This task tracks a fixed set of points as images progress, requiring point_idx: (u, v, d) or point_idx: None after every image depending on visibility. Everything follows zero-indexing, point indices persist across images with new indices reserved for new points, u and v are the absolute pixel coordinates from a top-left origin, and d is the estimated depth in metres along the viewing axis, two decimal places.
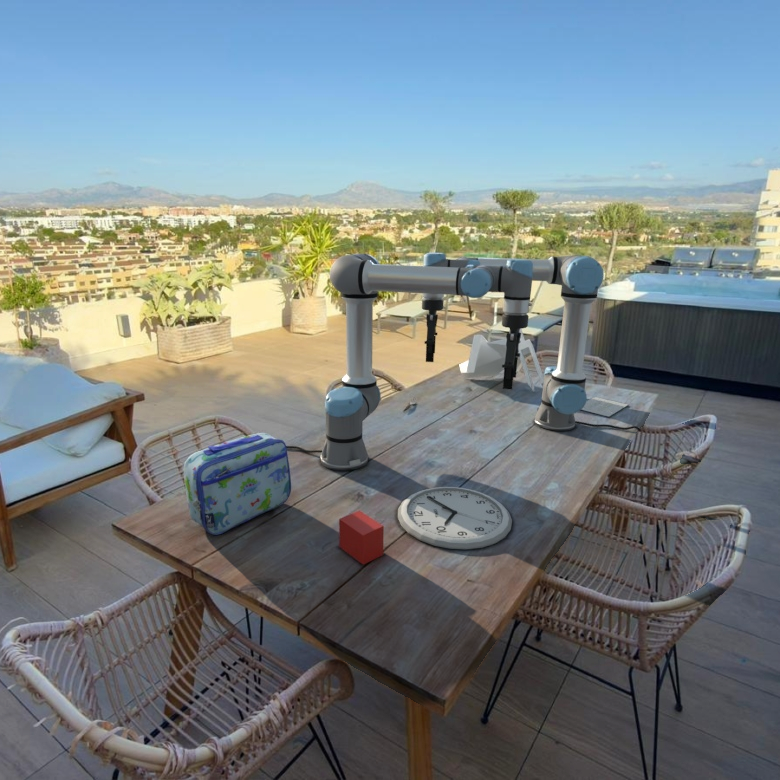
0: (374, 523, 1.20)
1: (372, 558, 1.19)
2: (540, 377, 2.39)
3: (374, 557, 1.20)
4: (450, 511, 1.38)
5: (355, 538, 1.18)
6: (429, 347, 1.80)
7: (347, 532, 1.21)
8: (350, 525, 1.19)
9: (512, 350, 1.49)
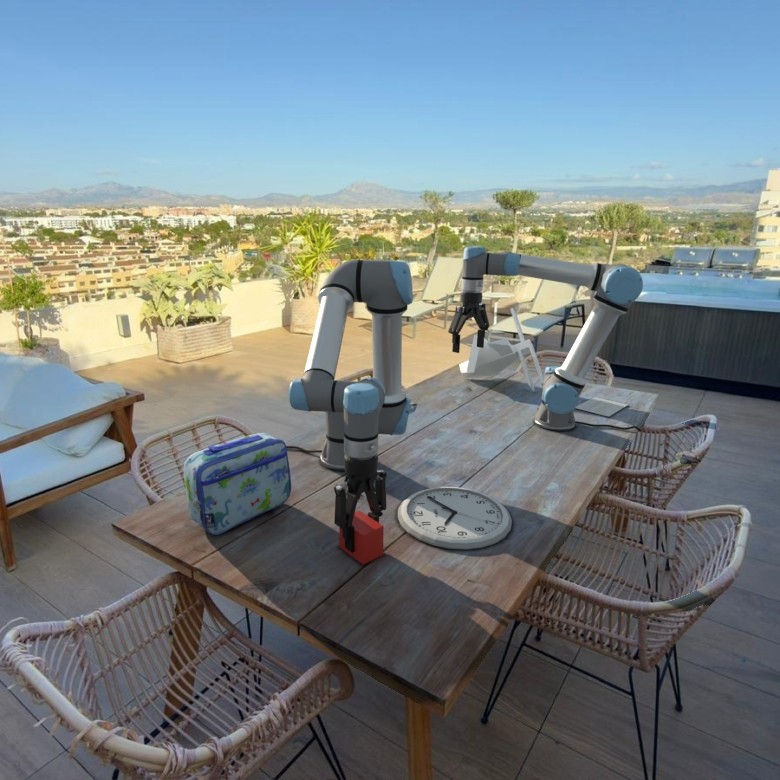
0: (374, 523, 1.20)
1: (372, 558, 1.19)
2: (540, 377, 2.39)
3: (374, 557, 1.20)
4: (450, 511, 1.38)
5: (355, 538, 1.18)
6: None
7: None
8: None
9: (339, 508, 1.14)
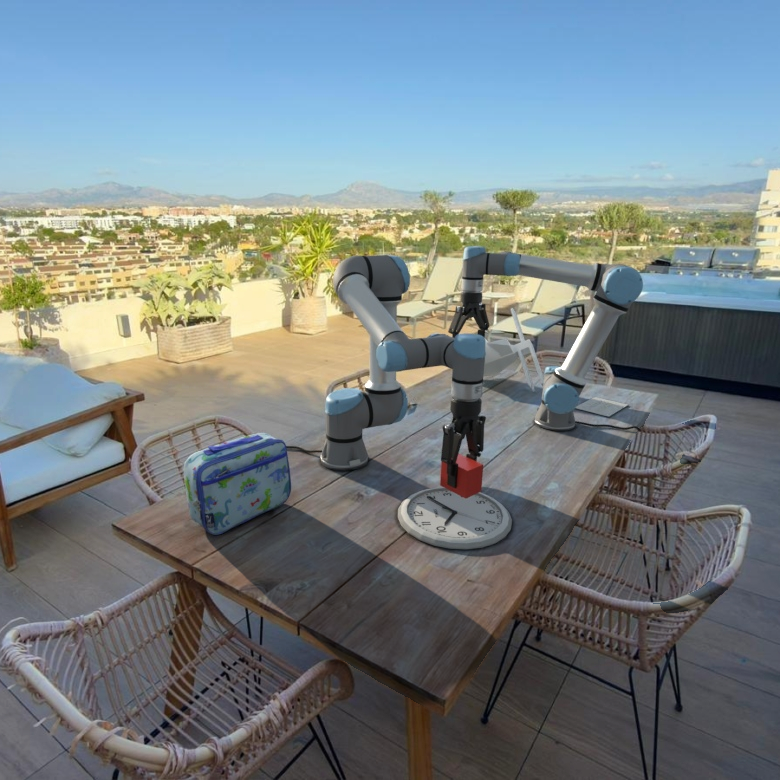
0: (474, 462, 1.33)
1: (473, 493, 1.32)
2: (540, 377, 2.39)
3: (474, 493, 1.33)
4: (450, 511, 1.38)
5: (458, 475, 1.31)
6: None
7: None
8: None
9: (447, 445, 1.27)
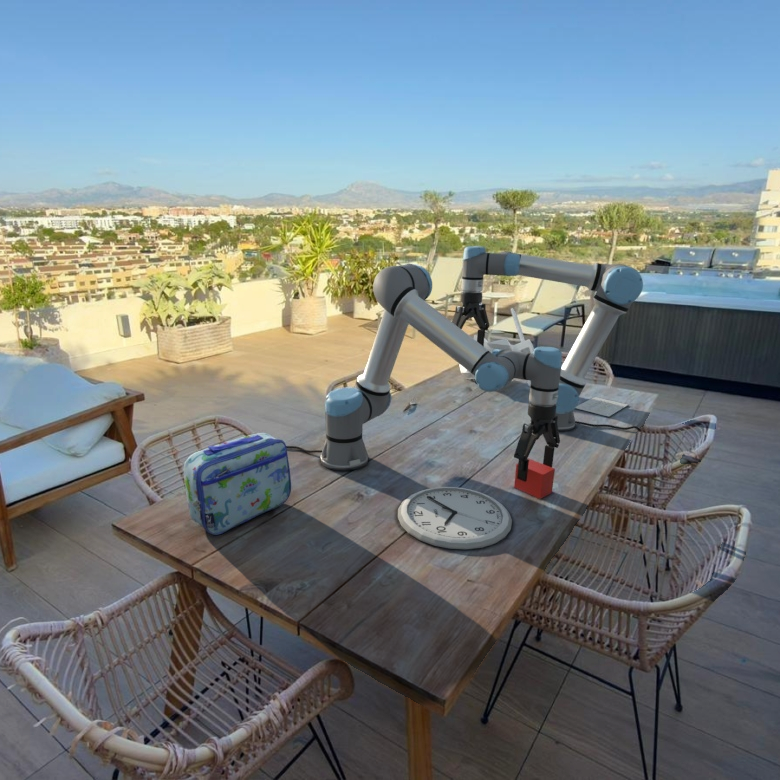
0: (546, 466, 1.50)
1: (546, 494, 1.50)
2: None
3: (547, 493, 1.50)
4: (450, 511, 1.38)
5: (533, 478, 1.48)
6: None
7: None
8: (528, 468, 1.50)
9: (524, 442, 1.42)
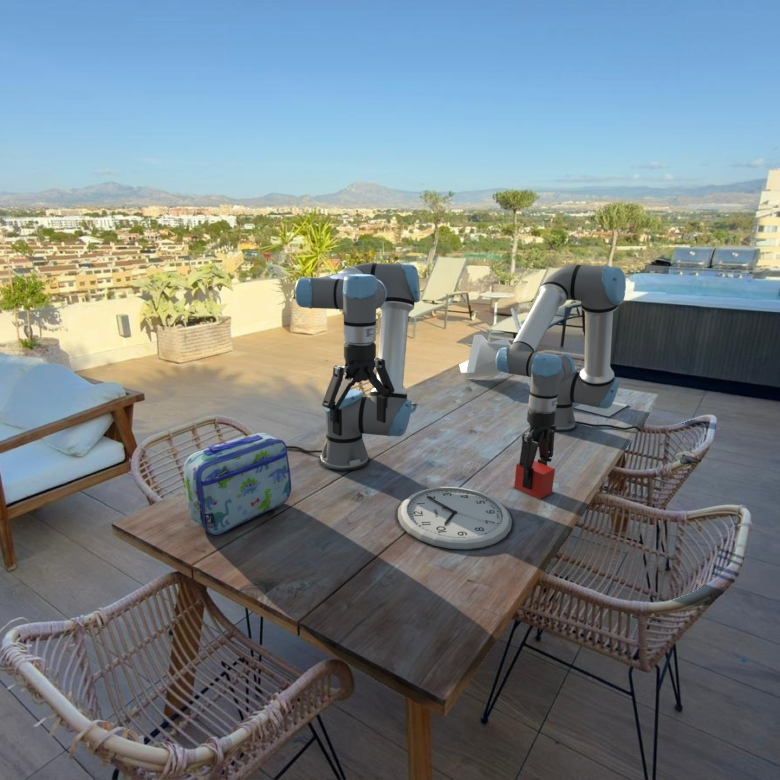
0: (546, 466, 1.50)
1: (546, 494, 1.50)
2: None
3: (547, 493, 1.50)
4: (450, 511, 1.38)
5: (533, 478, 1.48)
6: None
7: None
8: None
9: (333, 387, 1.19)
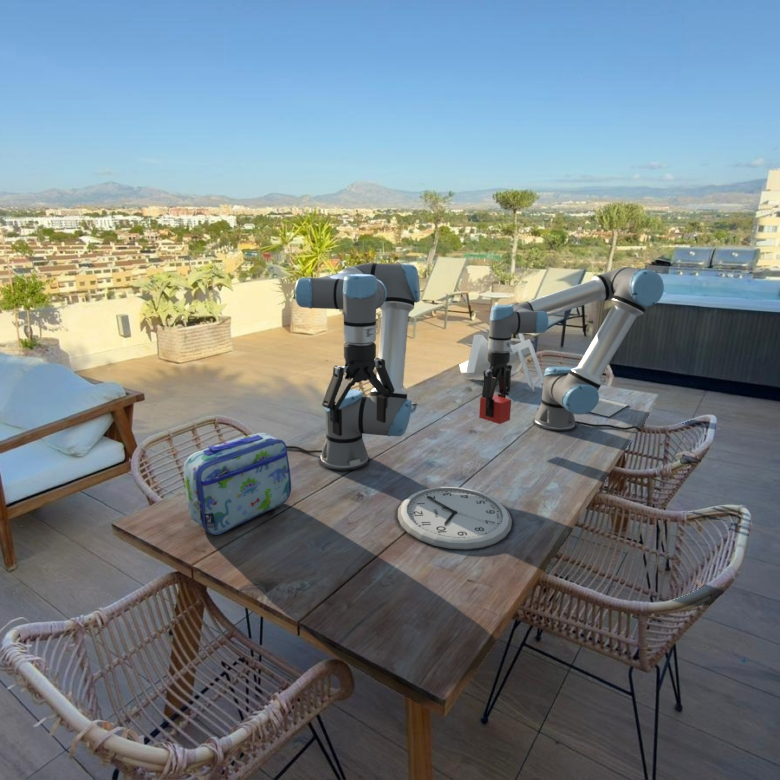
0: (504, 398, 1.84)
1: (504, 421, 1.83)
2: (540, 377, 2.39)
3: (505, 420, 1.84)
4: (450, 511, 1.38)
5: (494, 407, 1.82)
6: None
7: None
8: None
9: (333, 387, 1.19)
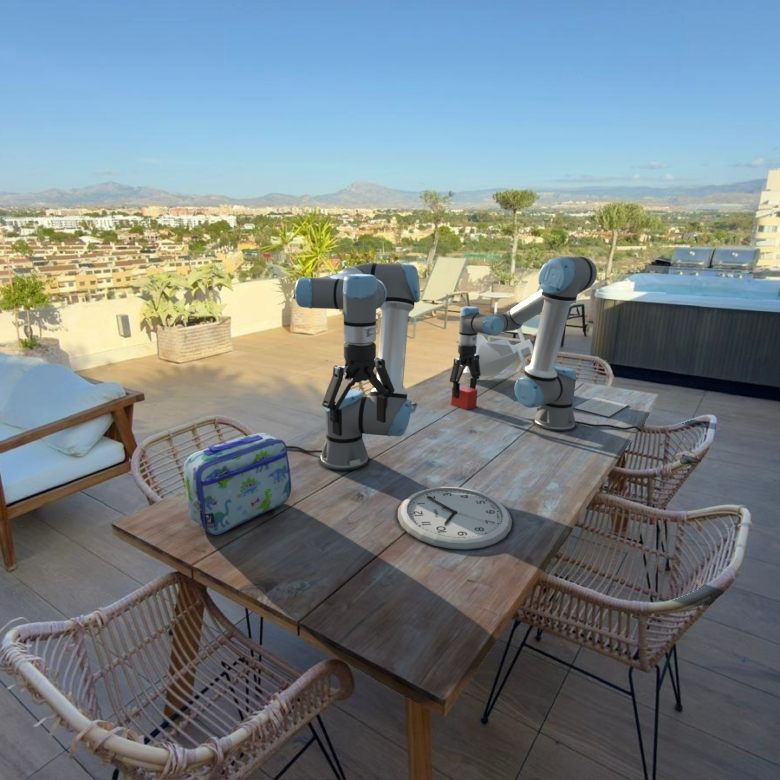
0: (472, 388, 2.22)
1: (471, 407, 2.21)
2: None
3: (472, 407, 2.22)
4: (450, 511, 1.38)
5: (462, 395, 2.20)
6: None
7: None
8: None
9: (333, 387, 1.19)
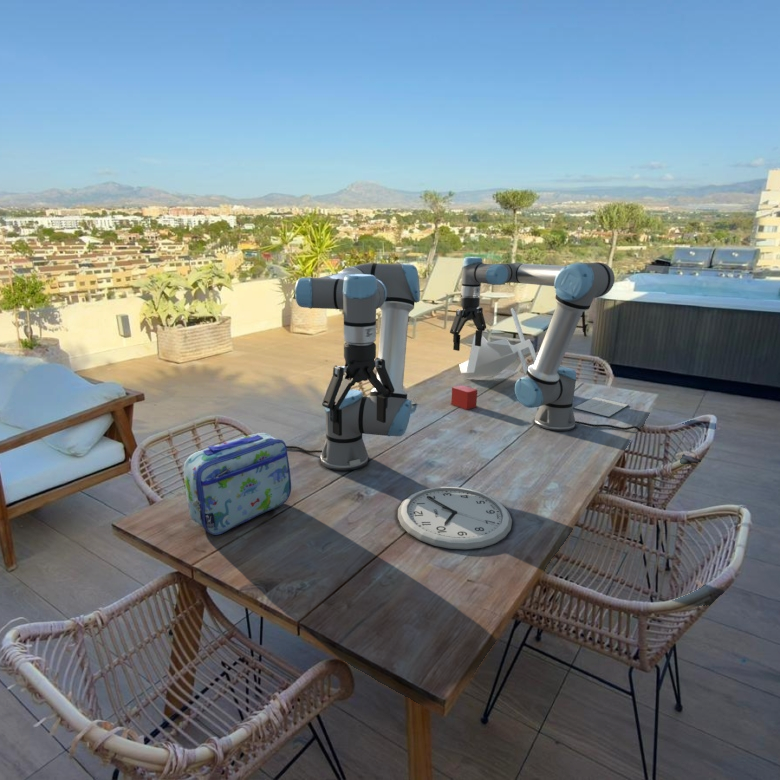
0: (472, 388, 2.22)
1: (471, 407, 2.21)
2: None
3: (472, 407, 2.22)
4: (450, 511, 1.38)
5: (462, 395, 2.20)
6: None
7: (457, 393, 2.22)
8: (459, 389, 2.21)
9: (333, 387, 1.19)
